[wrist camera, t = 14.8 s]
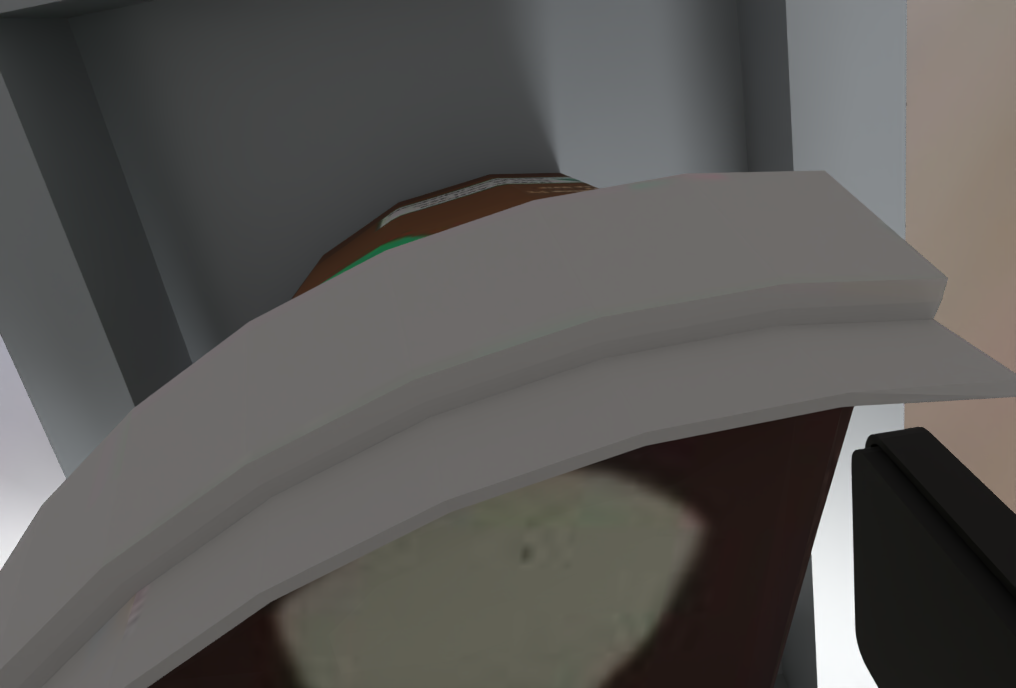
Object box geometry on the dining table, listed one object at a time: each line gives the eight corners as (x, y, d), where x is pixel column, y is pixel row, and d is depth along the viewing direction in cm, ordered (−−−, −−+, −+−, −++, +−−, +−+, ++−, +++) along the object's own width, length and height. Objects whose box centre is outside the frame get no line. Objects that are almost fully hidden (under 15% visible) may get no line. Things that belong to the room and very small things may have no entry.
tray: (840, 687, 18) (901, 807, 15) (290, 765, 19) (255, 893, 16) (810, -247, 12) (908, -331, 9) (-37, -67, 12) (-194, -92, 10)
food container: (154, 38, 11) (-798, 153, 2) (571, 75, 12) (1072, 260, 3) (200, 691, 16) (-56, 1592, 7) (501, 681, 17) (628, 1460, 8)
